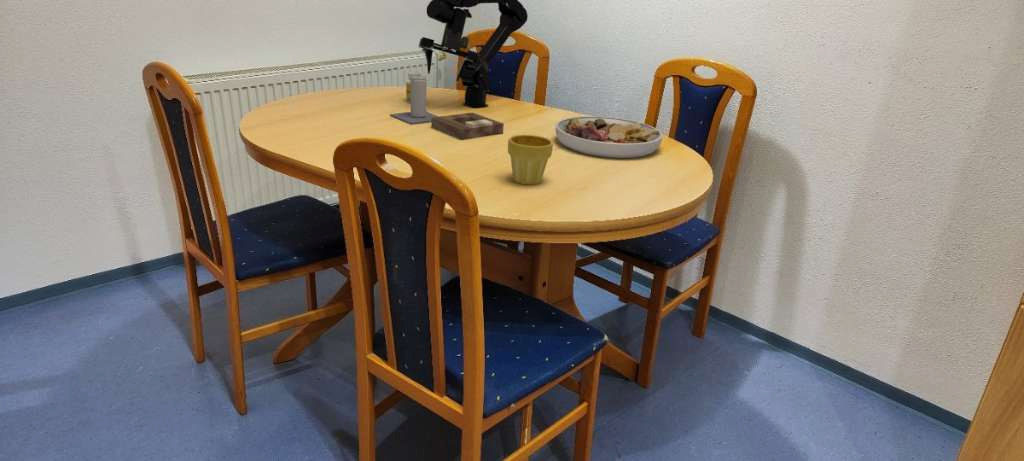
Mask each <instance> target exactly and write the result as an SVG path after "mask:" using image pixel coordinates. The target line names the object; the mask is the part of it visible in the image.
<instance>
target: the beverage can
mask: <svg viewBox="0 0 1024 461" xmlns="http://www.w3.org/2000/svg"><path fill="white" fill-rule="evenodd" d="M427 81H428V80H427V76H424V75H420V76H412V77H411V80H410V86H411V103H410V112H411V116H412V117H414V118H424V117H425V116H426V112H427Z"/></svg>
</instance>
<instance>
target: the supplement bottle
mask: <svg viewBox="0 0 1024 461" xmlns="http://www.w3.org/2000/svg"><path fill="white" fill-rule="evenodd" d="M407 75H408V76H407V77H408V78H407V79H406V81H405V82H406V86H405V87H406V91H405V92H406V96H405V98H406V101H405V102H406V103H408V104H411V86H410V80H411V77H412V76H421V73H420V72H417V71H412V72H411V71H409V72H408V74H407Z"/></svg>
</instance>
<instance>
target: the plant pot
mask: <svg viewBox="0 0 1024 461" xmlns="http://www.w3.org/2000/svg"><path fill="white" fill-rule="evenodd" d="M553 146H554V142H553V140H551V139H550V138H548V137H546V136H541V135H536V134H527V133H526V134H513V135H511V136H509V137H508V143H507V153H508V154H509V155H510V163H511V170H512V171H511V172H512V173H511V174H512V179H513V181H514V182H516V183H517V184H522V185H531V186H533V185H538V184H540V183H541V182H542V180H543V177H544V173H545V170H546V166H547V163H548V161H549V159H550V158H551V157H552V155H553Z"/></svg>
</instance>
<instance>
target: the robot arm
mask: <svg viewBox="0 0 1024 461" xmlns="http://www.w3.org/2000/svg"><path fill="white" fill-rule="evenodd" d="M480 4H497V5H498V11H499V13H500V16H499V23H498V26H497V27H496V29H495V30H494V31H493V33H492V35H490V37H489V38H488V40H487V41H486V42H485V43H484V45H483V46H482V48H481V50H480V51H479V52H477V51H474V50H470V49H468V50H466V49H467V48H468V45H469V41H470V38H469V37H466V36H463V34H464V29H465V25H466V20H467V18H468V19H472V18H473V15H472V13H471V12H470V8H474V7H477V6H478V5H480ZM426 16H427V17H428V18H430V19H432V20H435V21H437V22H440V23H441V24H445V25H444V31H443V34H442V39H441V43H437V42H435V40H434V39H432V38H428V37H425V36H422V37H421V38H420V39H419V42H418V48H420V49H421V52H424V54H425V59H426V67H427V68H426V70H427V74H431V66H432V60H433V52H434V50H436V51H441V52H443V53H447V54H450V55H454V56H456V57H457V56H458V57H461V58H463V60H461V63H460V66H459V70H458V72H457V75H456V80H455V81H456V82H459V80H460V79H461V80H460V81H461V84H462V86H463V87H465V92H464V102H462V105H464V106H466V107H469V108H472V109H477V108H485V107H487V108H488V107H489V104H487V90H490V89H491V87H492V86H491V85H492V82H491V80H490V79H489V78H488V74H489V66H490V64H491V63H492V61H493V60H494V58H495V57H496V56H497V54H498V53H499V51H500V50H501V48H502V47H503V46H504V45H505V43H506V42H507V40H508V39H509V37H510V36H511V34H513V33H514V32H516V31H518V30H520V29H521V28H522V27H524V26H525V24H526V23H527V21H528V17H529V16H528V11H527V10H526V8H525V7H524V5H523V4H522V3H521V1H519V0H431V1H430V2H429V3H428V5H427V6H426ZM461 49H465V50H466V51H464V50H461Z"/></svg>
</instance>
